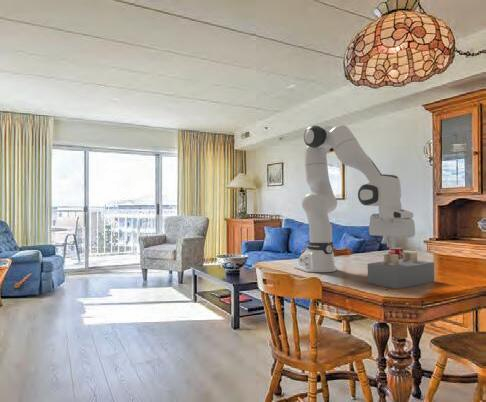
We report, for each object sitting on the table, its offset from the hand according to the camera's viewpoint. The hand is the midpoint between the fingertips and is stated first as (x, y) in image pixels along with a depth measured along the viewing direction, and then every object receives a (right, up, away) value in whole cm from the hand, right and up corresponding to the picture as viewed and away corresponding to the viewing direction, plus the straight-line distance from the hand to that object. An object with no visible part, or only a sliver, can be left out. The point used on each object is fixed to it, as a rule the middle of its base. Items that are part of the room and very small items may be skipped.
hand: (391, 247), depth 157 cm
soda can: (+11, -15, +23) cm, 30 cm away
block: (+5, -15, +3) cm, 16 cm away
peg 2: (+10, -11, +6) cm, 16 cm away
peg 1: (0, -11, 0) cm, 11 cm away
